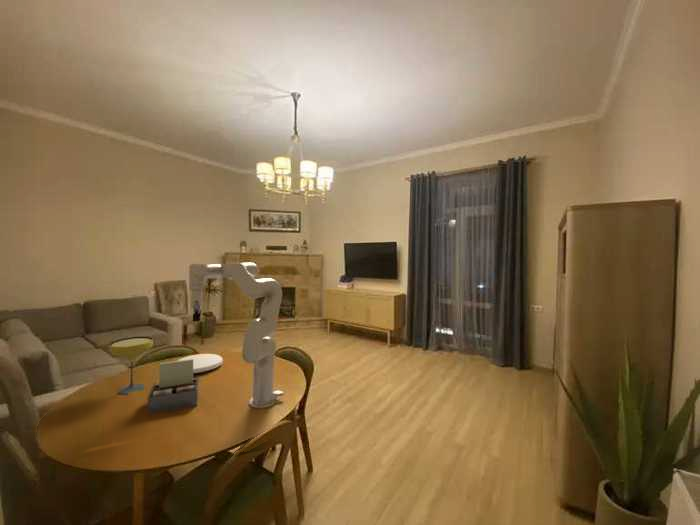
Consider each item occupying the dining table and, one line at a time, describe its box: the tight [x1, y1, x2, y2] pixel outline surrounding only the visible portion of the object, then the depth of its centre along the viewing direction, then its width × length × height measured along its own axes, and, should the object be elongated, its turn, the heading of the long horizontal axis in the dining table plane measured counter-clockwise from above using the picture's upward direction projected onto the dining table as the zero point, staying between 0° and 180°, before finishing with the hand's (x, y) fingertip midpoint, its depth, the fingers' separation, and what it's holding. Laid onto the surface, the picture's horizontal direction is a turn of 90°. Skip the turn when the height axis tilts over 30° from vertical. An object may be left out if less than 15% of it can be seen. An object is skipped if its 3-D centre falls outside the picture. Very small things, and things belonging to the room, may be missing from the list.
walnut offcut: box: [176, 385, 194, 393], centre depth 133 cm, size 7×3×8 cm, turn 116°
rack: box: [147, 376, 200, 416], centre depth 134 cm, size 19×14×9 cm
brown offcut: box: [153, 388, 172, 397], centre depth 129 cm, size 7×3×8 cm, turn 115°
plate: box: [177, 353, 224, 374], centre depth 178 cm, size 28×6×27 cm
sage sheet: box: [158, 359, 194, 388], centre depth 138 cm, size 14×1×18 cm, turn 117°
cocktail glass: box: [108, 336, 154, 395], centre depth 148 cm, size 18×18×25 cm
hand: (196, 319), depth 152 cm, fingers open, 9 cm apart
